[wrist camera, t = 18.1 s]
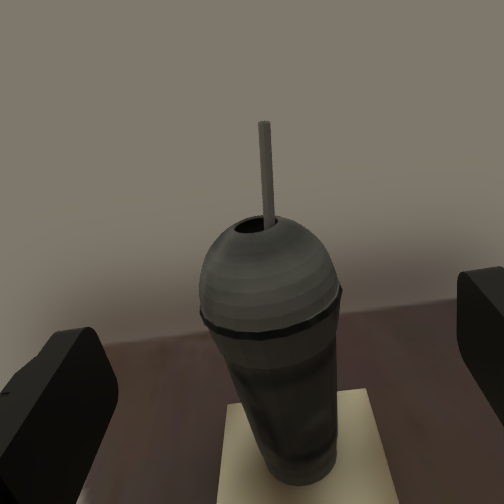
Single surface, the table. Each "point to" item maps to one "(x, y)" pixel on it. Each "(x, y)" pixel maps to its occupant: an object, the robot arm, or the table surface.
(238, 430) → the birch coaster
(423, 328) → the table surface
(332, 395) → the beverage cup
